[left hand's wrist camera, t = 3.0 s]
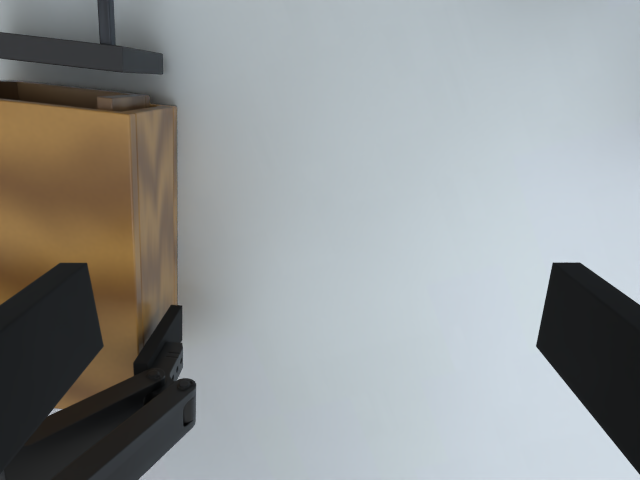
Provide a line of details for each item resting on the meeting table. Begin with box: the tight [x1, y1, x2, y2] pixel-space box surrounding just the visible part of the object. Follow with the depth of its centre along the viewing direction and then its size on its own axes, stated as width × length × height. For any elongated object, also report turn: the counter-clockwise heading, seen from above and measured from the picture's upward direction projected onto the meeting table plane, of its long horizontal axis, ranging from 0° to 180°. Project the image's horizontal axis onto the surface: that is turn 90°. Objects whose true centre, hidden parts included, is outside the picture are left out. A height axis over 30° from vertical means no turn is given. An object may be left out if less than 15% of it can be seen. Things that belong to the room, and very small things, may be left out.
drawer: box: [0, 0, 163, 112], centre depth 26 cm, size 23×10×6 cm, turn 174°
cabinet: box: [0, 99, 177, 409], centre depth 28 cm, size 19×11×8 cm, turn 174°
